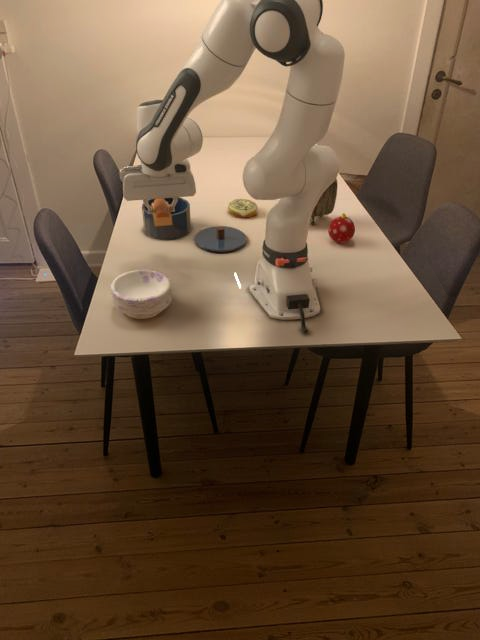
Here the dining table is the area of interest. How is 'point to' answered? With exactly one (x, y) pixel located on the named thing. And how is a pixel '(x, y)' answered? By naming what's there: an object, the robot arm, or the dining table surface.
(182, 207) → the crock
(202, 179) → the dining table surface
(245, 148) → the dining table surface
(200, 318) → the dining table surface
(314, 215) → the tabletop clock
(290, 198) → the robot arm
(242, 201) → the decorated donut
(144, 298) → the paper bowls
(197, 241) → the crock lid
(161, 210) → the orange rounded bar
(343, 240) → the christmas ornament
